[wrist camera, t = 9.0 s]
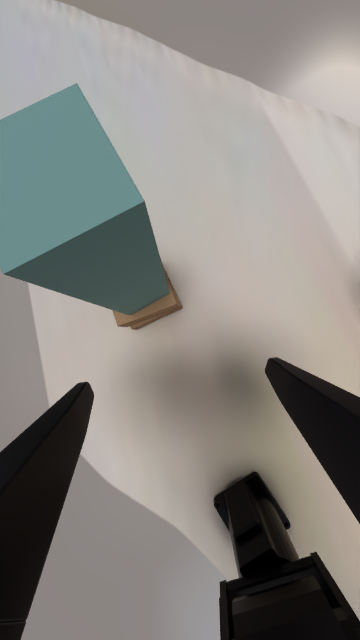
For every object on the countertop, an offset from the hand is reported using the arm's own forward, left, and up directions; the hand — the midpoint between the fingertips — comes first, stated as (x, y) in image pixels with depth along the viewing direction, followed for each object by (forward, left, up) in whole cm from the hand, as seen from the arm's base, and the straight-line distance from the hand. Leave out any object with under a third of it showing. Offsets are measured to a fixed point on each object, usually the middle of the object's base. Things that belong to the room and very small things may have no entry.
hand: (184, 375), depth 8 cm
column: (+9, 0, -8) cm, 12 cm away
